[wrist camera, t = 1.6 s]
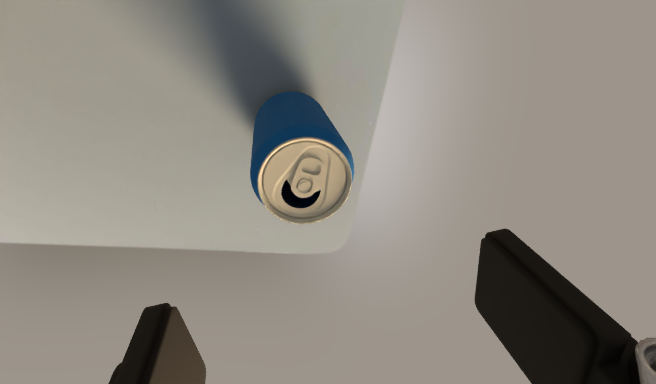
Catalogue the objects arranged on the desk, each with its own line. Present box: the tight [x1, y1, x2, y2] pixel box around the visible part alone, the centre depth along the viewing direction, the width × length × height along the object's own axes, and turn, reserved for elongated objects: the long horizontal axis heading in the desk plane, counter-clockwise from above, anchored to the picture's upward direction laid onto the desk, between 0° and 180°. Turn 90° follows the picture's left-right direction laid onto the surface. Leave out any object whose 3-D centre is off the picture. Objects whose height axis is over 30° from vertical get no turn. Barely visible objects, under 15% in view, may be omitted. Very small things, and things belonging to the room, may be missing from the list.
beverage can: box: [250, 91, 354, 224], centre depth 25 cm, size 6×6×12 cm
